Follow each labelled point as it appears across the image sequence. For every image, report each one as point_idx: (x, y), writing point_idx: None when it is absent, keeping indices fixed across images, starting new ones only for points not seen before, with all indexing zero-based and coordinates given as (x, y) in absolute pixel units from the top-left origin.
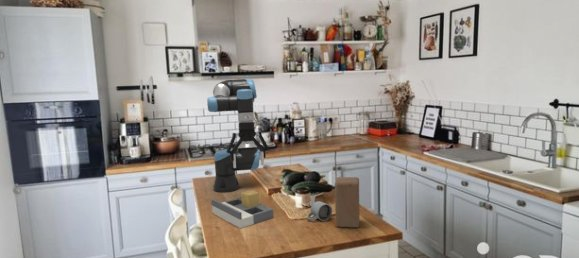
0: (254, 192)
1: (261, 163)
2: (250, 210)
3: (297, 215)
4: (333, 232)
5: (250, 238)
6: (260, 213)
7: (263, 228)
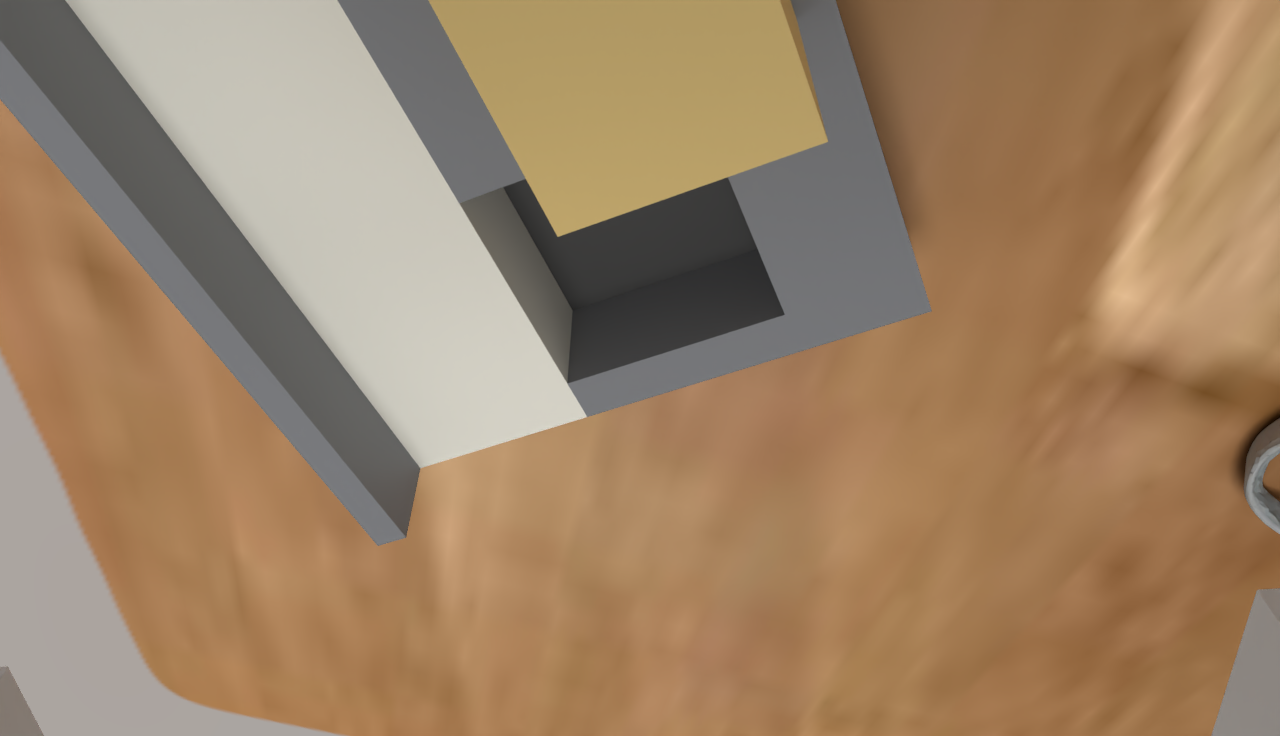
0: (748, 85)
1: (1275, 705)
2: None
3: (1243, 278)
4: None
5: (500, 604)
6: (704, 378)
7: (676, 470)
